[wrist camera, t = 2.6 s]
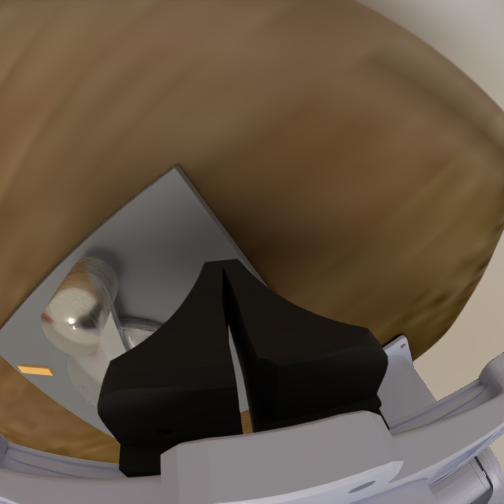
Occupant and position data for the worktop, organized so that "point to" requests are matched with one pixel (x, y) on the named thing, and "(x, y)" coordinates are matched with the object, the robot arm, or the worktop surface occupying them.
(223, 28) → the worktop surface
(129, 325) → the dial
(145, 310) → the dial plate
